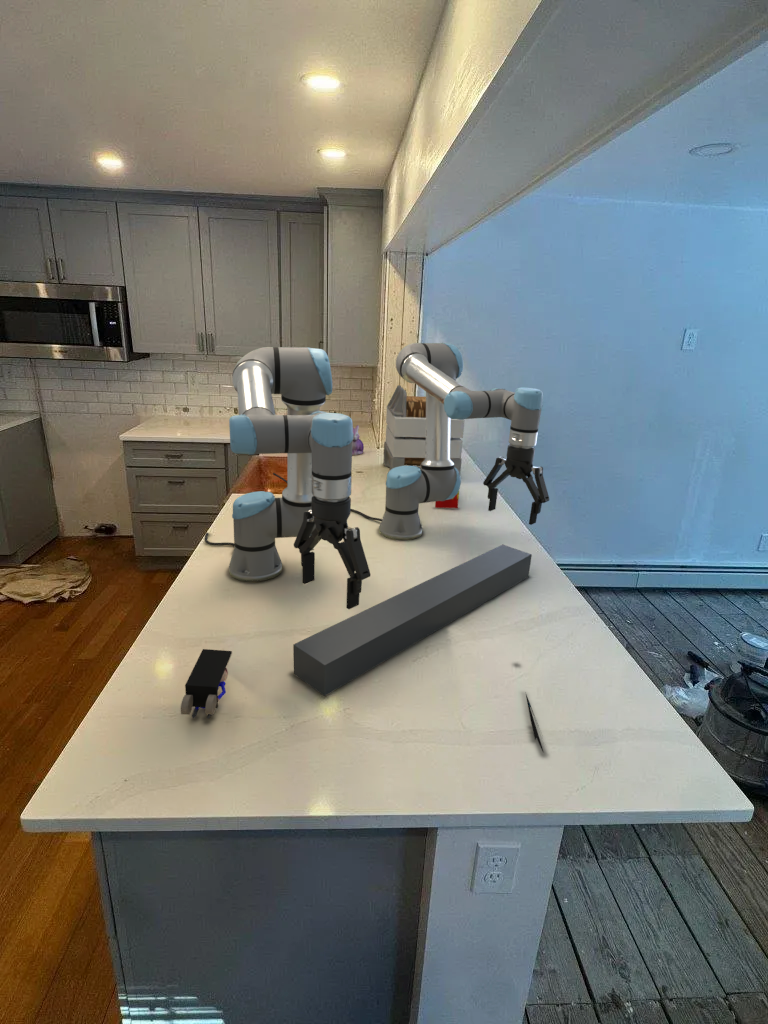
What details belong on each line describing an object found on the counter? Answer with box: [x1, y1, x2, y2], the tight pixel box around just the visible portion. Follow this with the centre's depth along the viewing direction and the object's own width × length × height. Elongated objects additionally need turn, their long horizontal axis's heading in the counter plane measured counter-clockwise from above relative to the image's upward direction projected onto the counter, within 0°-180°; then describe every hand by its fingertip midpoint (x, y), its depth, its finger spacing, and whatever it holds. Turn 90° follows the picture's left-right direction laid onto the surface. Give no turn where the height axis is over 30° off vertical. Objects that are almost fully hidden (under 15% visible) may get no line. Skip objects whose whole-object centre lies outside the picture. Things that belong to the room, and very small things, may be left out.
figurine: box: [352, 424, 365, 456], centre depth 304 cm, size 9×10×15 cm
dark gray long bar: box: [292, 543, 533, 697], centre depth 145 cm, size 82×10×8 cm, turn 137°
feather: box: [525, 691, 547, 753], centre depth 115 cm, size 2×28×2 cm
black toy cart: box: [180, 648, 233, 720], centre depth 111 cm, size 7×8×15 cm
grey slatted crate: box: [383, 384, 466, 476], centre depth 268 cm, size 34×33×41 cm
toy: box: [434, 490, 460, 509], centre depth 239 cm, size 12×13×30 cm
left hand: (329, 593), depth 116 cm, fingers open, 13 cm apart
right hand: (511, 516), depth 165 cm, fingers open, 13 cm apart
